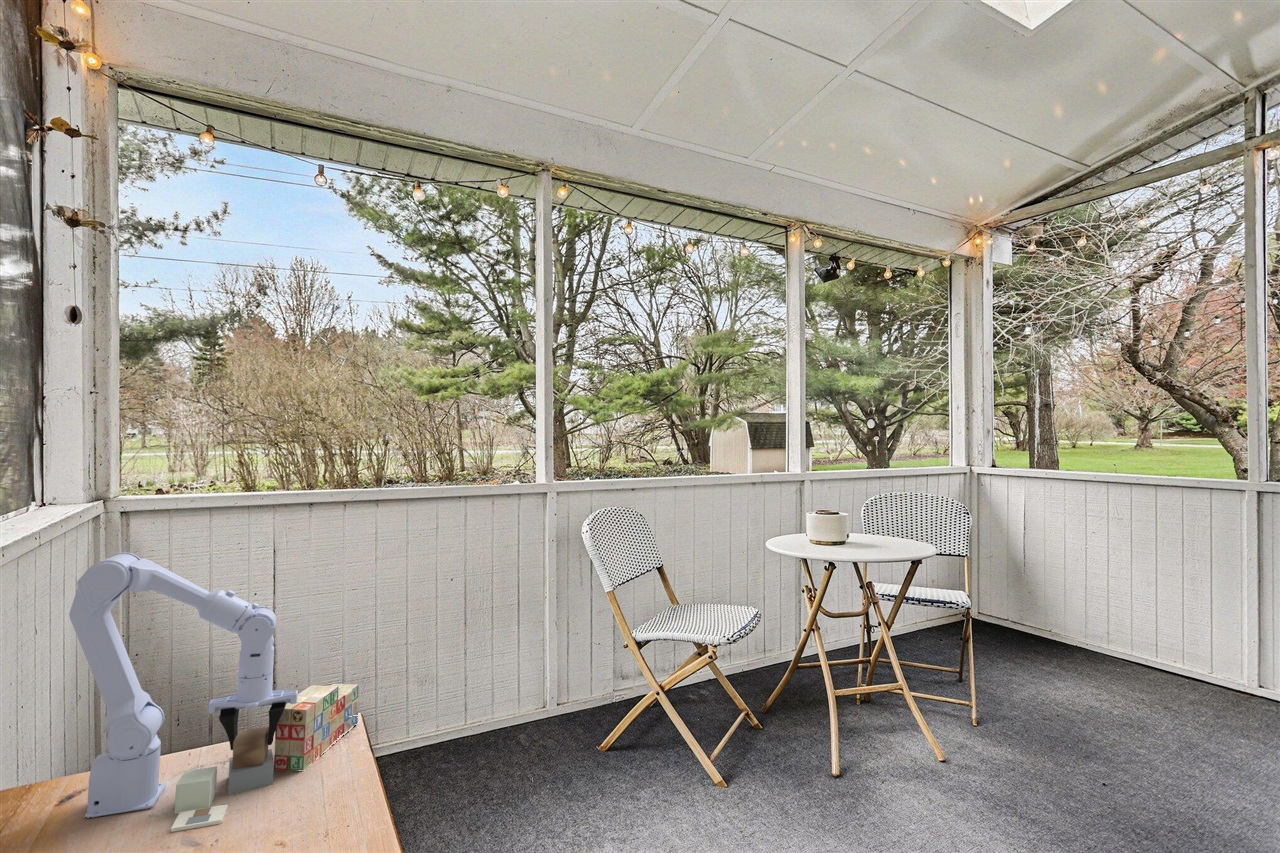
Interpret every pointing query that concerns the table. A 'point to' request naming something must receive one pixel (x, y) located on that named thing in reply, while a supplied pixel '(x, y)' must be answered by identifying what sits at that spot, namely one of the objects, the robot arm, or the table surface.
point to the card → (199, 818)
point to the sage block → (195, 789)
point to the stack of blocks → (314, 724)
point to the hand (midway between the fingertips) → (252, 745)
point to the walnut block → (250, 747)
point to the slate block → (251, 775)
